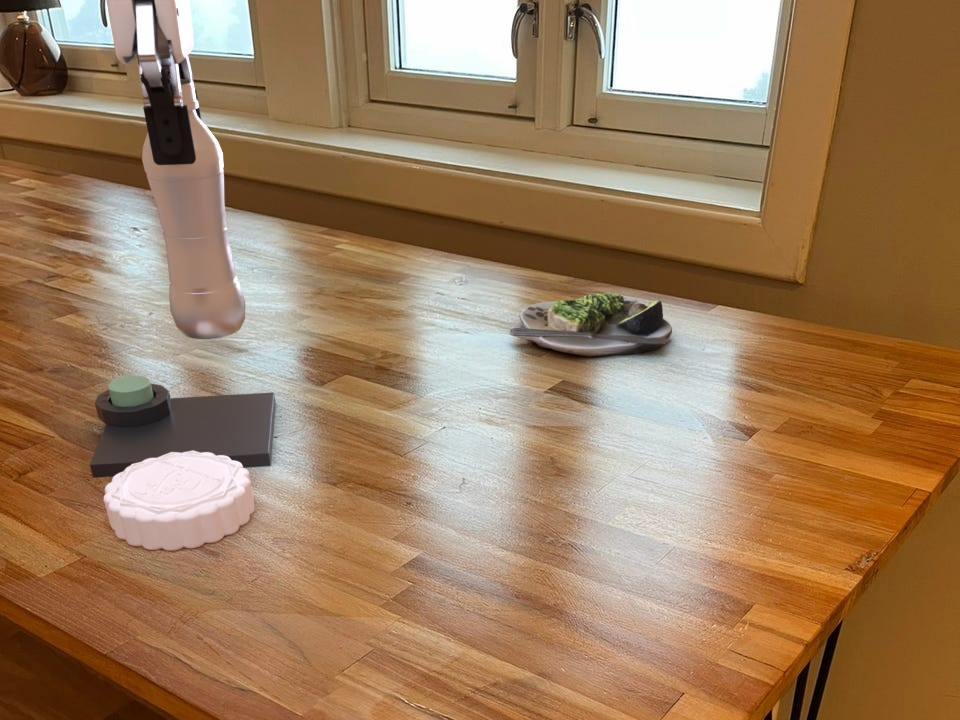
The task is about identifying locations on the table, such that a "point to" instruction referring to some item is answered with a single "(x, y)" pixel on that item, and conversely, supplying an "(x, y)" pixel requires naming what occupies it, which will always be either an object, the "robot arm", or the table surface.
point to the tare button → (130, 391)
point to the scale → (184, 429)
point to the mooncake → (179, 500)
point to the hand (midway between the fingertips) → (180, 152)
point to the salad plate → (595, 325)
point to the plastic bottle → (197, 234)
